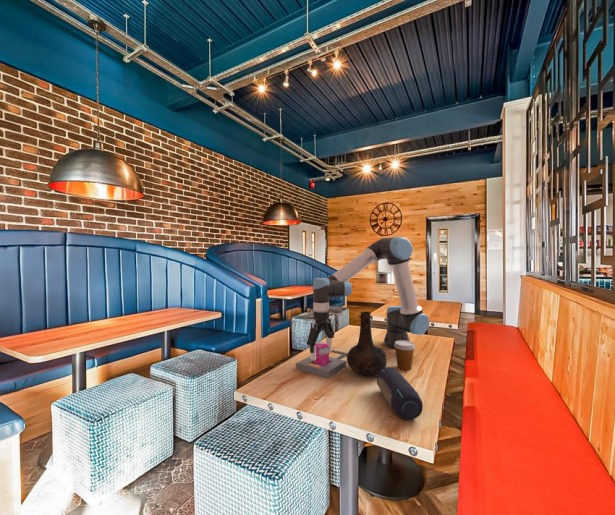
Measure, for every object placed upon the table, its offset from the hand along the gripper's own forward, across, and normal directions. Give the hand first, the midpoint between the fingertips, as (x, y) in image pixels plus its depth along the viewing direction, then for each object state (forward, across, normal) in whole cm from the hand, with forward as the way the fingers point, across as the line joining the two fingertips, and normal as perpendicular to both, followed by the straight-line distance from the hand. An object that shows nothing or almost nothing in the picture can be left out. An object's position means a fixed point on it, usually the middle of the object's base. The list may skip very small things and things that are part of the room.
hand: (321, 355), depth 142 cm
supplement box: (+6, 0, 0) cm, 6 cm away
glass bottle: (+6, -7, +20) cm, 22 cm away
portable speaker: (+7, +12, +41) cm, 43 cm away
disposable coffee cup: (+6, -23, +32) cm, 40 cm away
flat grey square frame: (+6, -17, -6) cm, 19 cm away
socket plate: (+6, 0, 0) cm, 6 cm away
